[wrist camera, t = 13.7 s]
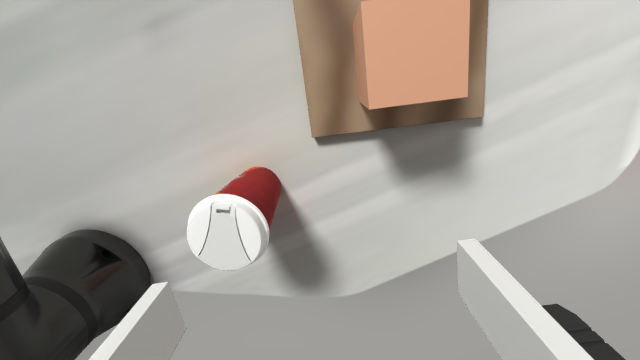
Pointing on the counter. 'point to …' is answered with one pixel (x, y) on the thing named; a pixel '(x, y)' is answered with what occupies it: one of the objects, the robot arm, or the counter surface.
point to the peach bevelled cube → (411, 51)
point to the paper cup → (235, 221)
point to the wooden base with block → (341, 76)
